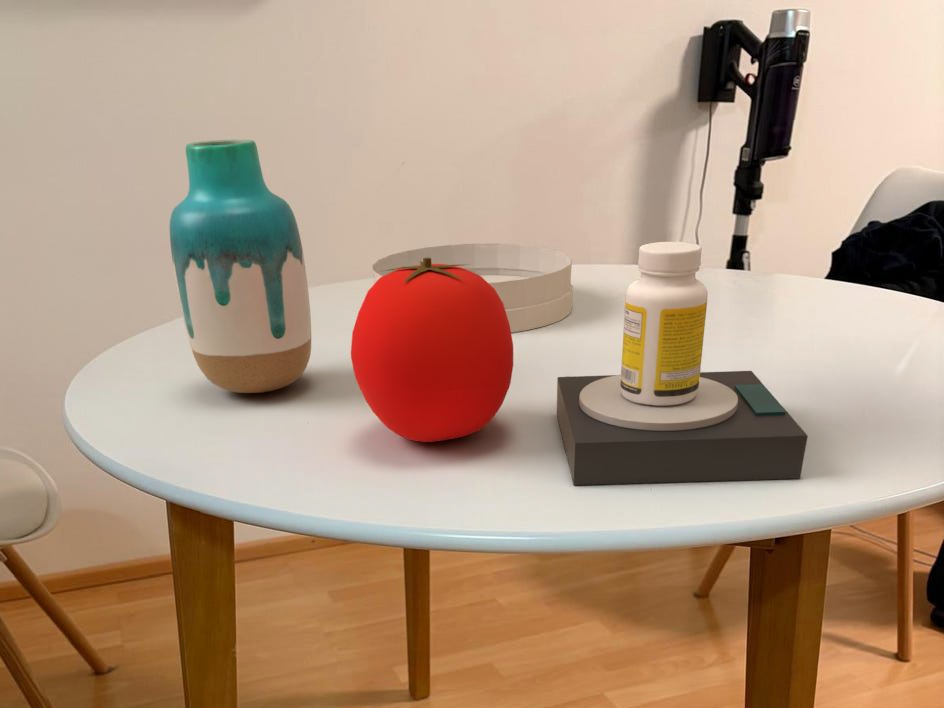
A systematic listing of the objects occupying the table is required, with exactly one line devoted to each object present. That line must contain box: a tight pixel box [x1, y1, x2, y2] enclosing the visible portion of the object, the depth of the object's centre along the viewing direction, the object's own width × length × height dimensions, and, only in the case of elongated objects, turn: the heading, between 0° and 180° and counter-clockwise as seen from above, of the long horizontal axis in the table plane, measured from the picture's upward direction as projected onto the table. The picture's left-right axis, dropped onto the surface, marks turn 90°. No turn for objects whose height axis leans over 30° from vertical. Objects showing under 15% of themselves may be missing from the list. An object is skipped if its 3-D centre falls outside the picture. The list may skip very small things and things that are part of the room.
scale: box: [556, 370, 809, 486], centre depth 65 cm, size 15×14×4 cm
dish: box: [372, 243, 574, 334], centre depth 100 cm, size 22×22×5 cm
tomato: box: [350, 258, 514, 443], centre depth 66 cm, size 12×12×13 cm
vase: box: [169, 139, 312, 394], centre depth 75 cm, size 11×11×19 cm
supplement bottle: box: [620, 241, 708, 406], centre depth 62 cm, size 5×5×10 cm
